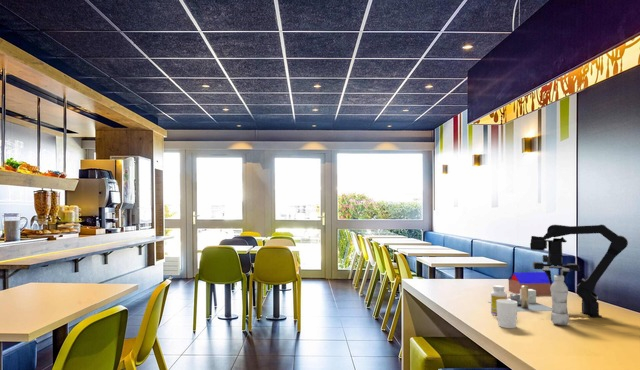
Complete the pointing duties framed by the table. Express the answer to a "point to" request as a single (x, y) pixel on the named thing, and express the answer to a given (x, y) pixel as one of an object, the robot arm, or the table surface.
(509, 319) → the white cup
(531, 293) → the stand
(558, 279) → the plastic bottle
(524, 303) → the crank handle
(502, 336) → the table surface
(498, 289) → the supplement bottle
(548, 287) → the house
